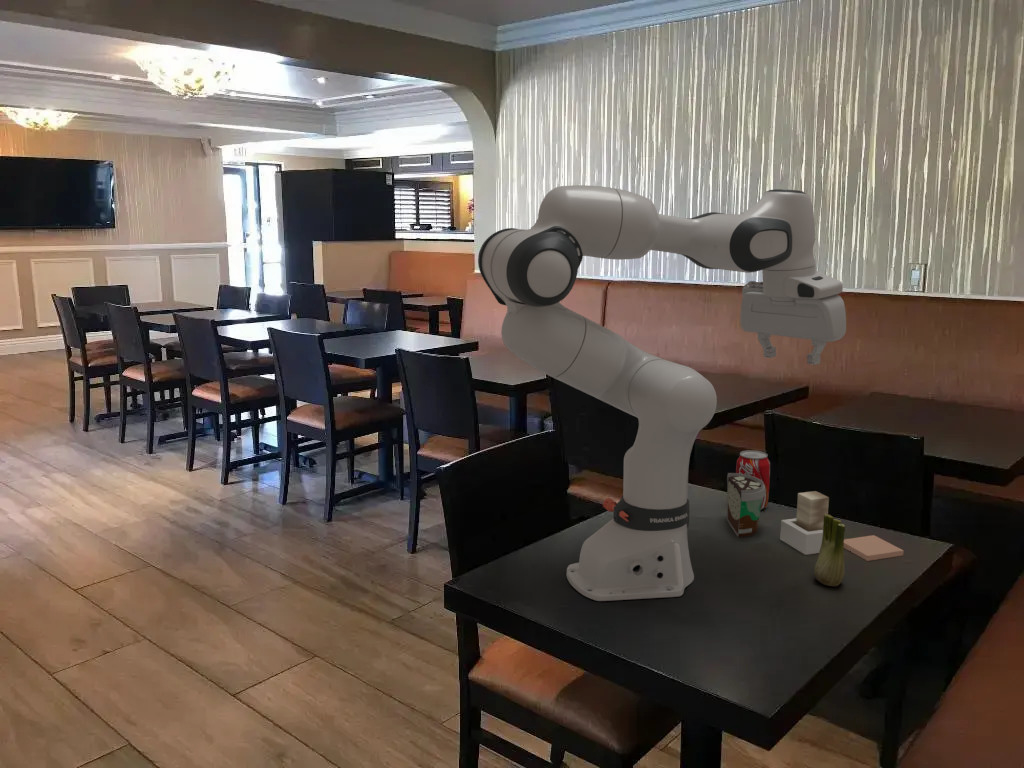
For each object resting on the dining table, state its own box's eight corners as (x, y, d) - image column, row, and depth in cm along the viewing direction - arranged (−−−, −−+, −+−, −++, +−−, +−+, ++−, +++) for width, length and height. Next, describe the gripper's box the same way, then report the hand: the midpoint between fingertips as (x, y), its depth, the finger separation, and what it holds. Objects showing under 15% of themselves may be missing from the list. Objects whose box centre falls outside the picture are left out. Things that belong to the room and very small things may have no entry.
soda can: (771, 512, 182) (774, 458, 180) (738, 512, 182) (741, 458, 180) (763, 501, 189) (765, 449, 187) (731, 501, 189) (733, 449, 187)
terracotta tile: (867, 561, 157) (867, 555, 157) (838, 545, 164) (839, 540, 164) (903, 555, 159) (903, 550, 159) (873, 539, 167) (873, 535, 167)
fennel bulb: (844, 591, 145) (849, 524, 142) (813, 588, 146) (818, 522, 144) (842, 577, 150) (847, 513, 148) (812, 574, 152) (816, 510, 149)
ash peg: (807, 549, 162) (810, 499, 160) (795, 542, 166) (797, 493, 164) (825, 547, 164) (828, 497, 162) (812, 539, 167) (815, 491, 165)
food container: (771, 539, 167) (774, 491, 165) (740, 540, 168) (742, 491, 166) (754, 517, 180) (756, 471, 178) (725, 517, 180) (727, 472, 178)
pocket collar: (805, 554, 160) (806, 534, 159) (780, 539, 167) (781, 520, 167) (841, 549, 162) (842, 529, 161) (814, 534, 170) (816, 515, 169)
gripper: (730, 283, 155) (734, 356, 159) (827, 289, 139) (829, 371, 142) (754, 277, 159) (756, 349, 162) (851, 283, 142) (852, 363, 145)
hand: (791, 360), depth 152 cm, fingers open, 8 cm apart
